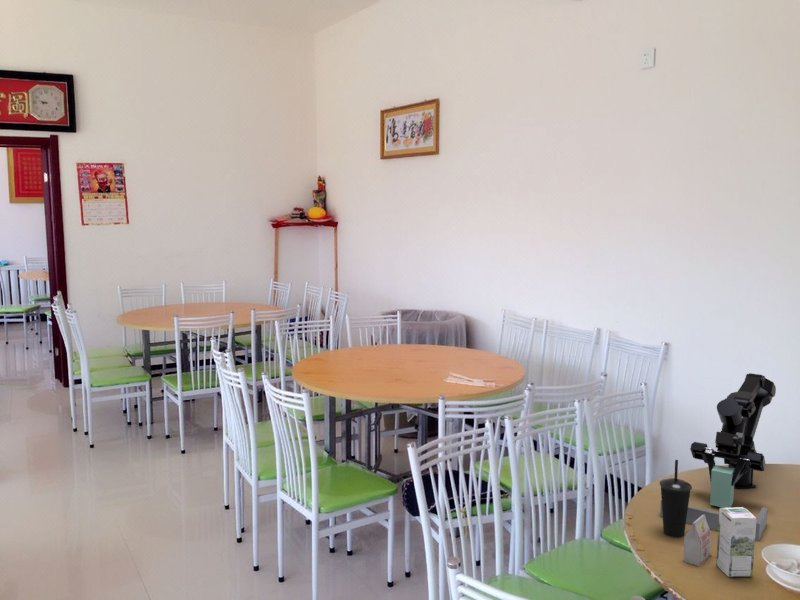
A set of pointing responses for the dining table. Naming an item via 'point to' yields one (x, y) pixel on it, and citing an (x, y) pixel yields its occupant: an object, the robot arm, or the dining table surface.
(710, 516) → the open crate
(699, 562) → the small gable top carton
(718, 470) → the green block
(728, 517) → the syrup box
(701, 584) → the dining table surface
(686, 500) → the drinking cup
